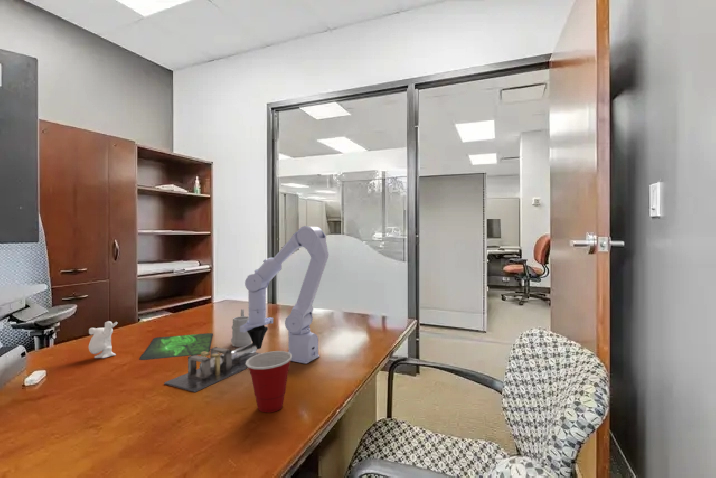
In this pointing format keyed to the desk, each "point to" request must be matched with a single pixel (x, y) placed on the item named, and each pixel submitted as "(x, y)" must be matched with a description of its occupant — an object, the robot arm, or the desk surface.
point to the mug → (240, 337)
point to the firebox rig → (203, 379)
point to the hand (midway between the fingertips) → (257, 348)
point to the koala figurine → (102, 340)
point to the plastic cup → (269, 378)
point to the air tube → (234, 355)
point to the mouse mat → (178, 346)
